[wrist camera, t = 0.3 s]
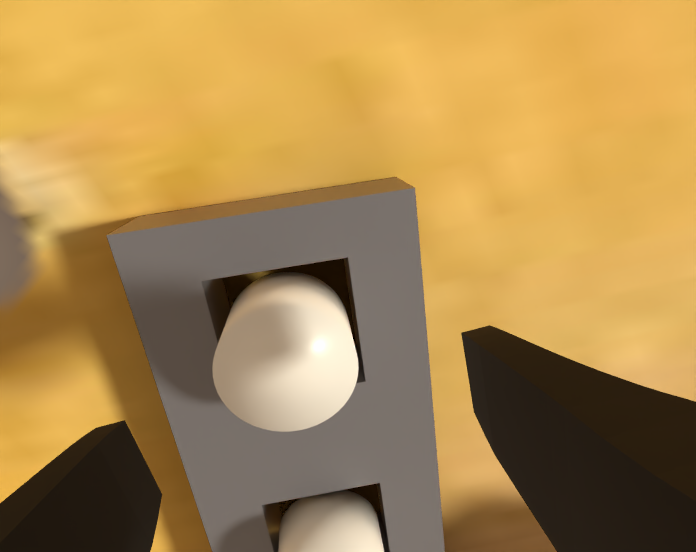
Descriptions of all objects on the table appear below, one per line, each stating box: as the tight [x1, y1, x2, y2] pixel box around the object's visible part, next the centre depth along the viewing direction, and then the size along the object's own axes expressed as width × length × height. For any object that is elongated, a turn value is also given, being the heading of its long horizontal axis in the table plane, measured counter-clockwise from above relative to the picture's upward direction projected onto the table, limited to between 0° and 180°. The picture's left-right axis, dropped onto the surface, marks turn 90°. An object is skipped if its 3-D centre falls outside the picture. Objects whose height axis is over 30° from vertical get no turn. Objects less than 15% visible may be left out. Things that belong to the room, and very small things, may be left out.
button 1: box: [212, 272, 359, 432], centre depth 15 cm, size 4×4×3 cm
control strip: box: [106, 177, 445, 552], centre depth 21 cm, size 10×29×3 cm, turn 8°
